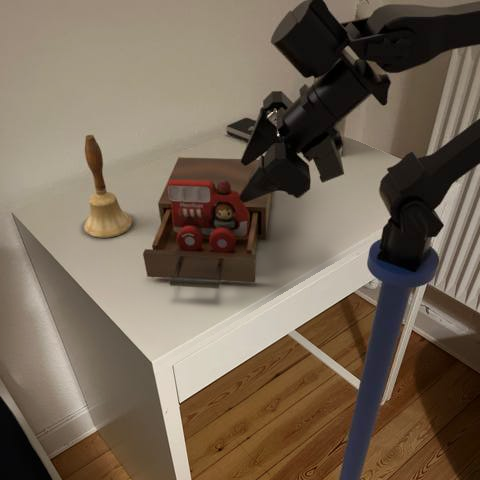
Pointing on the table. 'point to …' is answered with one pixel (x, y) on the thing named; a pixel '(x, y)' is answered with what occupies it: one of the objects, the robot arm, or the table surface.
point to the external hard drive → (241, 128)
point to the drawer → (201, 258)
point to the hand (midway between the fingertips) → (242, 181)
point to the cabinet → (215, 173)
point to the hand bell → (103, 199)
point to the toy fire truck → (207, 214)
